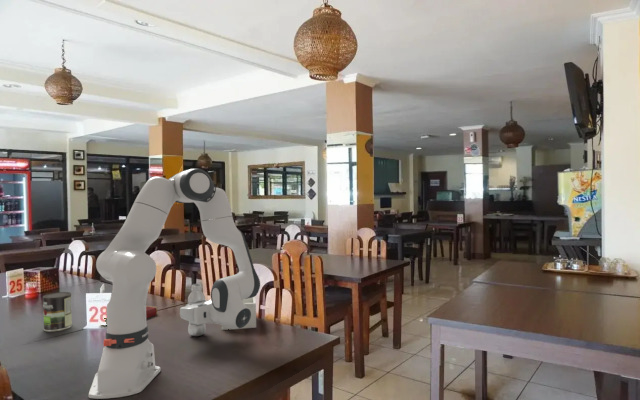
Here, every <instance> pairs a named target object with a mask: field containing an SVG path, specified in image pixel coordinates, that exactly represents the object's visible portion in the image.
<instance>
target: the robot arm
mask: <svg viewBox="0 0 640 400" xmlns="http://www.w3.org/2000/svg"><path fill="white" fill-rule="evenodd" d="M213 181H214V180H213V179H212V177H211V176H210V174H209V173H208V172H207V171H206V170H204V169H201V168H190V169H185V170H181V171H180V172H178V173H176V174H174V175H172V176H170V177H169V178H168V179H167V178H166V177H163V176H153V177H151V178H149V179H148V180H147V181H146V183H144V185H143V186H142V188H140V191H139V193H138V194H137V196H136V198H135V200H134V202H133V204H132V206H131V208H130V211H129V212H128V215H127V216H126V218H125V221H124V223H123V225H122V226H121V228H120V229H119V231H118V232H117V233H116V234H115V237H114V238H113V239H112V240H111V242H110V243H109V244H108V246H107V248H106V249H105V250H103V251H102V252H101V253H100V254H99V255H98V257H97V259H96V262H95V263H96V264H95V267H96V270H97V272H98V274H99V275H100V276H101V277H102V278H103V279H105V280H106V281H108V282H111V283H112V290H111V294H110V295H111V296H110V299H109V301H108V303H107V305H106V315H107V326H106V332H105V336H104V339H103V342H102V343H103V348H102V354H101V357H100V362H99V364H98V370H97V372H96V373H95V374H94V378H93V380H92V384H91V386H90V389H89V392H88V398H89V399H97V400H98V399H101V400H102V399H103V400H104V399H105V400H106V399H115V398H123V397H128V396H132V395H136V394H138V393H142V392H143V390H145V388H146V387H147V386H148V385H149V384H150V383H151V382H152V381H153V380H154V378H155V377H157V375H158V374H159V373H160V372H161V367H160V366H157V365H156V360H155V345H154V344H153V343H152V342H151V341H150V340H149V333H150V332H149V325H147V319H146V306H147V300H148V294H149V289H150V284H151V282H152V281H153V280H154V279H155V277H156V275H157V263H156V261H155V260H154V258H153V257H152V256H150V255H149V254H147V253H146V251H147V250H148V249H149V247H150V246H151V245H152V244H153V243H154V242H155V241H157V239H159V237H160V235H161V232H162V230H163V227H164V225H165V223H166V221H167V220H168V219H167V218H168V216H169V214H170V211H171V208H172V207H173V205H174V204H175V203H178V204H186V203H187V204H189V203H194V204H195V206H196V207H197V208H198V211H199V216H200V217H199V218H200V224H201V229H202V232H203V233H202V234H203V235H204V237H205V238H206V239H207V240H208V241H210V242H211V243H213V244H218V245H221V246H225V247H226V246H227V247H228V248H230V249H231V250H232V252H233V255H234V258H235V262H236V265H237V268H238V272H237V273H236V274H233V275H229V276H225V277H222V278H219V279H216V280H215V281H214V283H213V284H212V286H211V291H210V299H209V300H207V299H205V301H204V302H201V303H197V304H193V305H191V304H188V303H187V304H185V306H181V307H180V309H179V317H180V318H181V319H182V320H184V321H187V322H189V321H191V322H195V324H197V325H199V324H205V325H207V324H216V325H221V324H222V325H223V326H225V327H229V328H234V329H233V330H240V328H242V327H244V326H246V325H247V324H248V322H249V320H250V318H251V311H250V309H249V308H247V307H246V306H245V305H244V303H243V301H242V300H244V299H248V298H252V297H255V298H256V296H257V295H258V293H259V292H260V289H261V280H260V278H259V275H258V273H257V271H256V269H255V266H254V263H253V259H252V256H251V254H250V250H249V247H248V244H247V241H246V238H245V235H244V233H243V232H242V231H241V230H240V229H239V228H237V225H236V224H235V222H234V218H233V213H232V208H231V204H230V200H229V198H228V196H227V193H226V191H225V190H224V189H223V188H219V187H217V186H216V184H215V182H213ZM242 329H243V328H242Z"/></svg>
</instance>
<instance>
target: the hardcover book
mask: <svg viewBox="0 0 640 400" xmlns="http://www.w3.org/2000/svg"><path fill="white" fill-rule="evenodd" d="M157 315H158V308H157V306H151V305H150V306H149V305H146V320H147V319H149V318H152V317H154V316H157ZM104 319H106V320H105V322H106V324H107V318H104Z"/></svg>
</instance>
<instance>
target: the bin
mask: <svg viewBox="0 0 640 400" xmlns="http://www.w3.org/2000/svg"><path fill="white" fill-rule="evenodd" d="M242 301H243V303H244V305H245V306H246V307H247V308H249V309H250V311H251V318H250V320H249V322H248V324H247V325H246V326H244V327H242V328H240V329H241V330H242V329H252V328H253V329H254V328H257V307H256V306H257V302H256V296H255V297H252V298H248V299H244V300H242ZM220 325H221V326H220V327H221V331H225V330H226V331H227V330H228V329H229V330H235V329H234V328H229V327H225V326H223V325H222V324H220ZM240 329H239V330H240Z"/></svg>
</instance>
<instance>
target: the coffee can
mask: <svg viewBox="0 0 640 400" xmlns="http://www.w3.org/2000/svg"><path fill="white" fill-rule="evenodd" d="M42 305H43V307H42V309H43V310H42V311H43V312H42V313H43V331H44V332H46V333H47V332H50V333H51V332H52V333H53V332H60V331H64V330H65V331H66V330H67V329H70V328H72V327H73V323H72V292H70V291H67V292H66V291H62V292H53V293H52V292H51V293H48V294H44V295H43V296H42Z"/></svg>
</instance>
